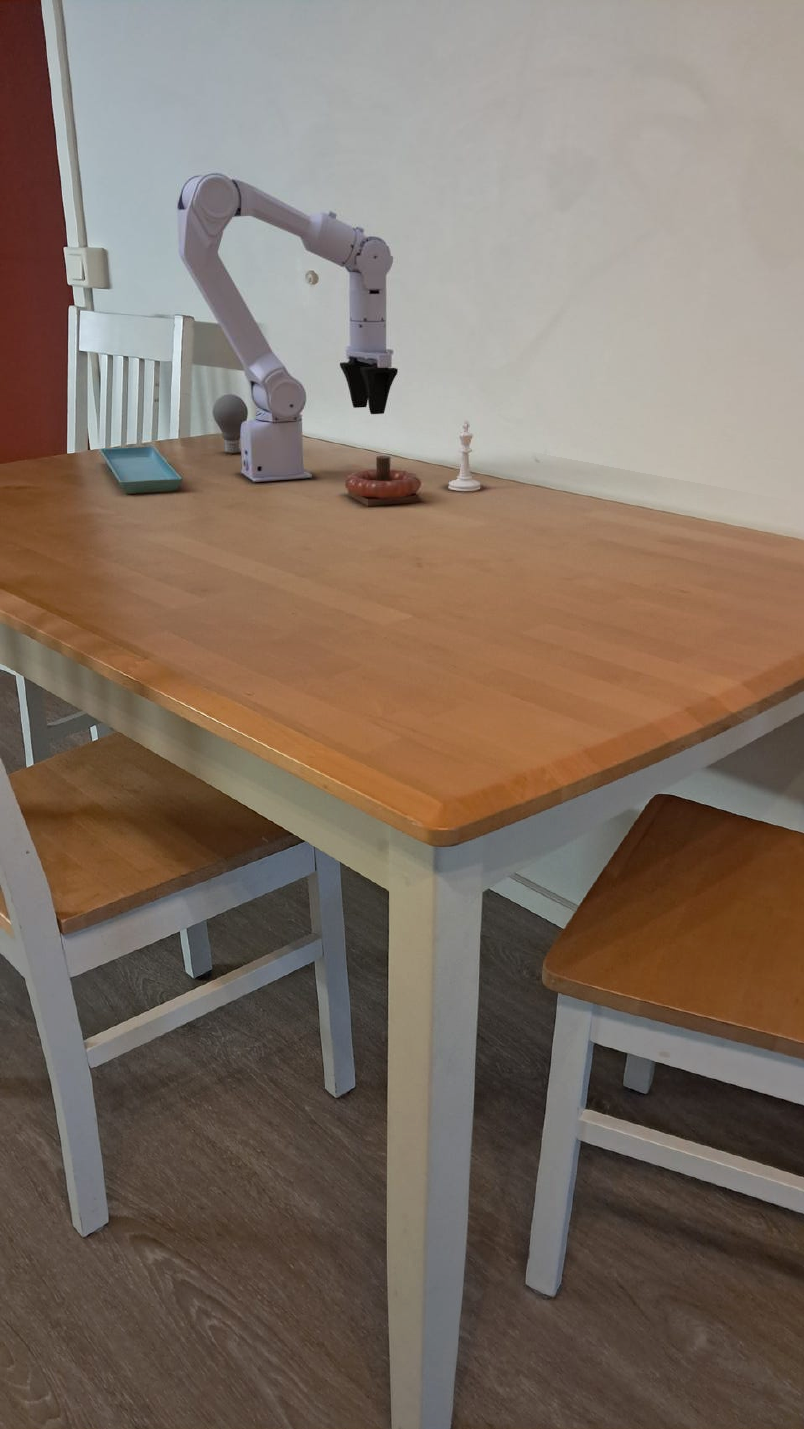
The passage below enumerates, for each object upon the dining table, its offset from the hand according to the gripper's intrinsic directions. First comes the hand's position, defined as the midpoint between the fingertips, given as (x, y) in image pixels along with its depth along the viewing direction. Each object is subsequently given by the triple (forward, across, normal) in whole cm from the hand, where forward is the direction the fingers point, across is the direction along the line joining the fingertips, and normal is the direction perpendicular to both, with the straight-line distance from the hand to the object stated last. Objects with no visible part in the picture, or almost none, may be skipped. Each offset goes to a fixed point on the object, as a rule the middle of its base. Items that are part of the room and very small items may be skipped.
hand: (368, 410), depth 171 cm
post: (+9, -21, +6) cm, 24 cm away
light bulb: (+10, +22, +17) cm, 29 cm away
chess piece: (+10, -19, -8) cm, 23 cm away
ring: (+7, -21, +6) cm, 23 cm away
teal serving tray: (+10, +7, +36) cm, 38 cm away
